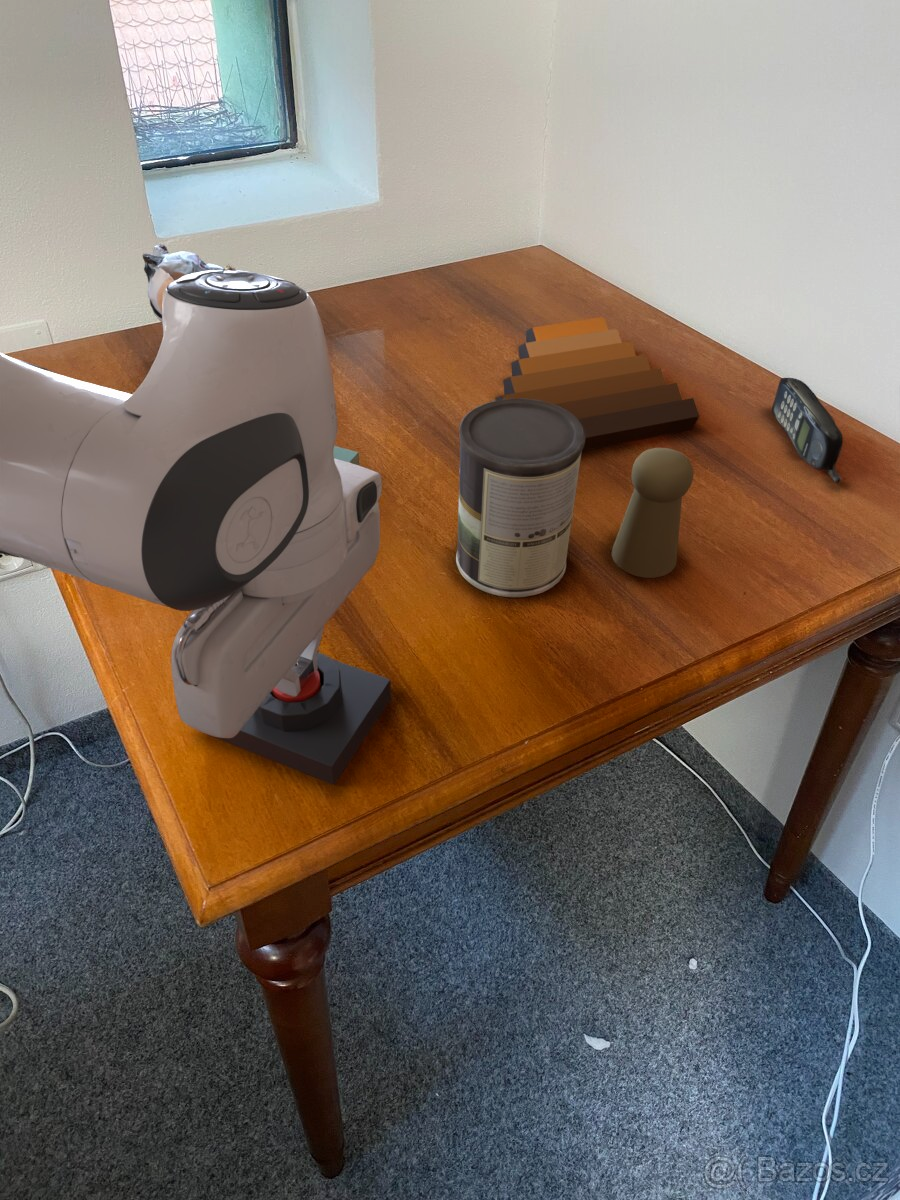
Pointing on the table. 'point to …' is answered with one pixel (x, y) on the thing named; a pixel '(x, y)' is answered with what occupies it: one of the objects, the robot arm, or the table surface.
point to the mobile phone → (808, 425)
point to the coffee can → (516, 495)
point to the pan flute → (598, 383)
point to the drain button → (307, 691)
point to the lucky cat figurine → (171, 272)
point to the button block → (318, 722)
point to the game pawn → (653, 514)
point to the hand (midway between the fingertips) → (297, 681)
